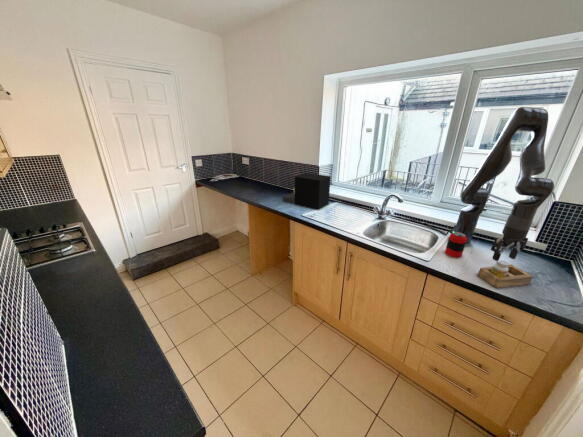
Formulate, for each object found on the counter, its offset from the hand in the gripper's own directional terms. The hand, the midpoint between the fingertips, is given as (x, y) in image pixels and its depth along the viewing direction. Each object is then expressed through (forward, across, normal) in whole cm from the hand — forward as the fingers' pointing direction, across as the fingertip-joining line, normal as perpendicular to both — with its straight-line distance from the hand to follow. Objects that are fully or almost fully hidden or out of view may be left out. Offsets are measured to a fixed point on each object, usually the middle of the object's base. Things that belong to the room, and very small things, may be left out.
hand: (503, 259), depth 106 cm
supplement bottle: (+11, 0, 0) cm, 11 cm away
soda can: (+12, +2, -23) cm, 25 cm away
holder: (+11, -4, 0) cm, 12 cm away
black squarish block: (+13, +61, -117) cm, 133 cm away
